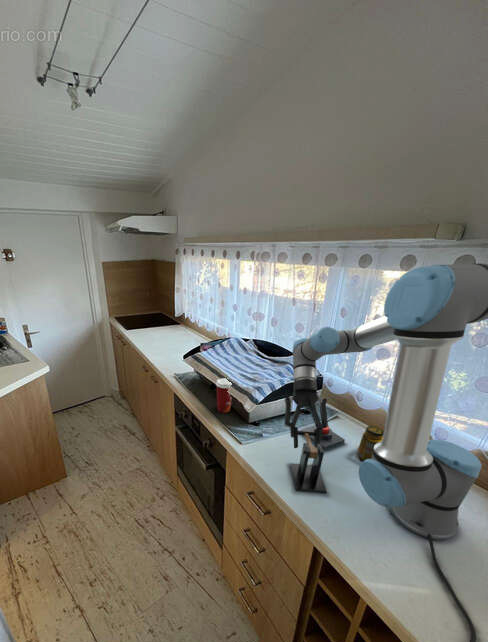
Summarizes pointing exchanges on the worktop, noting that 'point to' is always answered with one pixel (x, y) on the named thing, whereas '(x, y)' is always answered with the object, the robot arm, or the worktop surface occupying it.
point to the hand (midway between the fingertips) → (306, 448)
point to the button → (325, 430)
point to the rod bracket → (308, 472)
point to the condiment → (369, 442)
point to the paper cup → (223, 395)
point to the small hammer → (312, 449)
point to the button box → (326, 438)
